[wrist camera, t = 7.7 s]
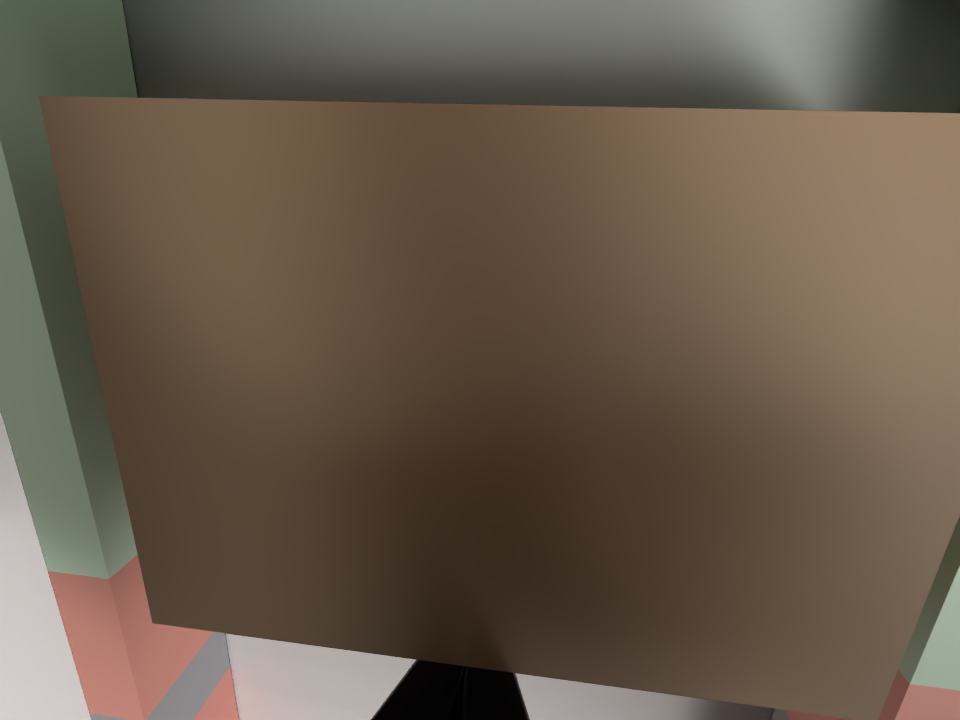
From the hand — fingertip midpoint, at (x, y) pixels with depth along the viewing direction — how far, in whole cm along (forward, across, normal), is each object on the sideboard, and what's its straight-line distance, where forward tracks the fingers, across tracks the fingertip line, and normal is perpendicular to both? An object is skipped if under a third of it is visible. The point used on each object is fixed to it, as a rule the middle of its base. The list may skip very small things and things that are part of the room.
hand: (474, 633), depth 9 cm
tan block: (+2, 0, -4) cm, 5 cm away
